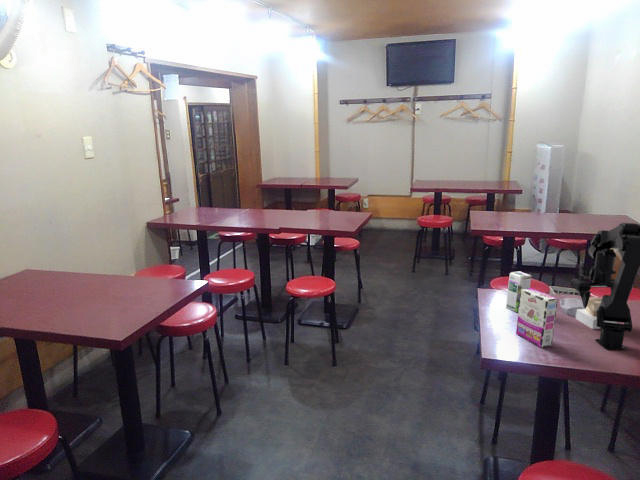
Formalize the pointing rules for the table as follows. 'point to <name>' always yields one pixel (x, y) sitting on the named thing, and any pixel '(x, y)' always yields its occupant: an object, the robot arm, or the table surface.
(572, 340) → the table surface
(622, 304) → the robot arm
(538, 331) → the candy bar box
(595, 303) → the birch cube
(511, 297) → the syrup box
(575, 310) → the stone block
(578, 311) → the base block
